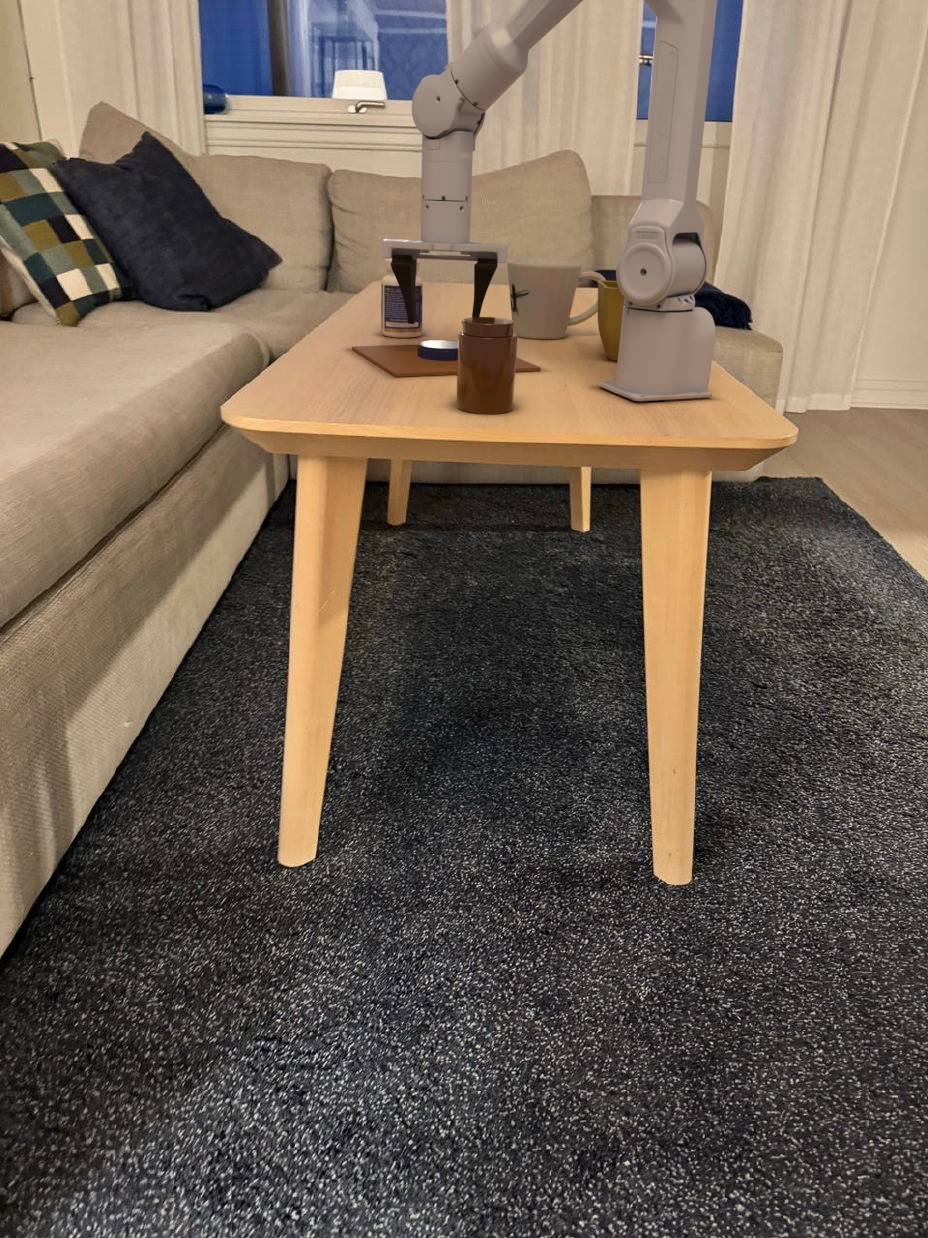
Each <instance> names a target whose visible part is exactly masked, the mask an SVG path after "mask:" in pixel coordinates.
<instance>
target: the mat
mask: <svg viewBox="0 0 928 1238" xmlns="http://www.w3.org/2000/svg"><path fill="white" fill-rule="evenodd" d="M418 344H419V343H418ZM418 344H389V345H386V344H385V345H354V346H353V345H352V346H351V350H352V351H353V352H355V353H357V354H358V355H360V356H361V357H363V358H364V359H366V360H368V361H370V362H371V363H372V364H374V365H376V366H377V367H379V368H380V369H382V370H383V371H385V372H387V373H388V374H390V375H391V376H393V377H395V378H407V377H430V376H432V377H433V376H452V375H455V376H457V363H458V360H456V361H436V360H428V359H423V358H421V357H419V356H418V347H419V346H418ZM541 369H542V367H540V366H537V365H536V364H533V363H530V362H528V361H526V360H524V359H521V358H518V357H517V356H516V368H515V373H523V372H540V371H541Z"/></svg>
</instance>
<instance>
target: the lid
mask: <svg viewBox="0 0 928 1238" xmlns="http://www.w3.org/2000/svg"><path fill="white" fill-rule="evenodd" d="M418 346H419V347H418V356H419V357H421V358H423V359H428V360H436V361H456V360H458V341H454V340H445V339H444V340H438V339H437V340H435V339H433V340H424V341H420V342H419V343H418Z"/></svg>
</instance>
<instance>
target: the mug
mask: <svg viewBox="0 0 928 1238" xmlns="http://www.w3.org/2000/svg"><path fill="white" fill-rule="evenodd" d="M506 264H507V265H506V266H507V277H508V288H509V289H508V291H509V301H510V311H511V312H510V313H511V320H512V321H514V330H513V333H515V334H517V338H523V339H530V340H558V339H562V338H565V337H566V335H567V330H568V327H572V326H576V325H579V324H581V323H583V322H586V321H587V320H589V319H590V318H592V317H593V316H595V315H596V314H598V299H597V300H596V302H595V303H593V305H592V306H590V308H589V309H587V310H586V311H584V312H582V313H581V314H580V313H579V314H578V315H576V316H573V317H571V314H572V313H571V312H572V309H573V304H574V300H575V296H576V291H577V287H578V282H579V283H580V282H583V281H588V280H589V281H590V280H591V281H594V282H596V283H598V281H607V280H606V278H605V277H604V275H602V274H601V273H600V272H596V271H592V270H585V271H582V272H581V269H582V264H581V263H580V262H576V261H571V260H561V259H550V258H549V259H548V258H547V259H546V258H512V259H508V260H507V262H506Z"/></svg>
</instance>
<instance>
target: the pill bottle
mask: <svg viewBox="0 0 928 1238" xmlns="http://www.w3.org/2000/svg"><path fill="white" fill-rule="evenodd" d="M391 262H392V258H384V269H385V271H386V274H385V276H383V277H382V279H381V281H380V292H381V293H380V297H381V298H380V300H381V301H380V304H381V305H380V306H381V307H380V312H381V313H380V314H381V315H380V325H381V326H380V328H381V334H382V335H383V336H385V337H388V338H400V339H401V338H402V339H403V338H405V339H407V338H409V339H411V338H417V337H418V338H419V337H420V336H421V335H422V334H423V294H424V293H423V289H424V288H423V287H424V286H423V280H422V279H421V277H420V276H418V272H419V270H420V259H417V266H416V284H415V299H416V322H415V323H414V324H408V318H407V312H406V307H405V303H404V299H403V296H402V293H401V290H400V287H399V284H398V282H397V279H396V277H395V275H394V273H393V271H392V268H391Z"/></svg>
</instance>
